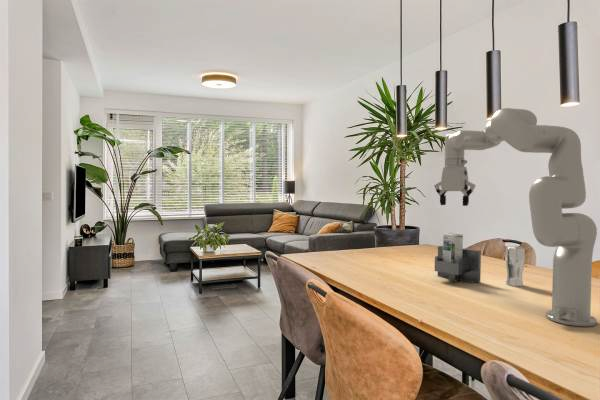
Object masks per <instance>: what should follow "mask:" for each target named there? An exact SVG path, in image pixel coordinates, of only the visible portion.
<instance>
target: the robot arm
mask: <svg viewBox="0 0 600 400" xmlns="http://www.w3.org/2000/svg"><path fill="white" fill-rule="evenodd" d="M537 123H538V118H537V116H536V115H535V113H534V112H532V111H531V110H528V109H525V108H523V109H522V108H512V107H511V108H510V107H506V108H500V109H498V110H496V112H494V114H493V115H492V117H491V119H490V120H489V121H488V122H487V123H486V125H485V128H484V130H481V131H480V130H463V129H462V130H458V131H456V132H452V133H448V134H446V135H445V137H444V167H443V168H442V172H441V177H440V178H441V179H440V181H439V182H437V183H436V184H434V185H433V187H434V188H435V189H434V190H435V192H436V193H437V194H438V195H439V203H440V206H446V204H447V195H446V193H448V192H461V194H463V196H462V206H464V207H468V206H469V203H470V199H469V198H470V195H471V194H473V192H474V190H475V188H476V184H475V183H472V182H471V181H469V174H468V168H467V166H465V164H468V160H467V159H466V160H465V151H485V150H488V149H491V148H492V149H493V148H494V147H497V146H499V145H500V144H501V143H502V142H505V143H507V144H508V145H510V146H511V148H513V149H514V150H517V151H519V152H521V153H530V154H531V153H532V154H533V153H534V154H535V153H538V154H539V153H540V154H542V153H543V154H545V153H546V154H551V155H550V156H549V159H548V163H547V164H548V165H547V166H548V167H547V169H548V176H541V177H539V178H537V179H536V180H535V181H534V182H533V183H532V184H531V186H530V189H529V192H528V198H529V199H528V201H529V202H528V203H529V211H530V218H531V226H532V232H533V235H534V237H535V239H536V241H537V243H539V244H541V245H542V246H544V247H549V248H551V247H552V248H553V247H555V251H554V255H553V260H552V286H551V287H552V291H551V292H552V293H551V297H552V298H551V309H549V310H547V311H545V317H546V318H547V319H548V320H550V321H551V322H554V323H555V322H556V323H558V324H563V325H567V326H575V327H593V326H596V325H597V323H598V321H597V318H596V317H594V316H593V315H591V304H592V302H591V300H592V274H593V273H592V270H593V253H594V248H595V243H596V240H597V234H598V229H597V225H596V223H595V220H593V219H592V218H591V217H590V216H588V215H586V214H583V213H581V212H580V213H579V212H563V209H564V210H565V209H575V208H578V207H580V206H582V205H583V204H584V203H585V202H586V198H587V189H586V184H585V183H586V182H585V176H584V168H583V162H582V161H583V160H582V143H581V139H580V137H579V135H578V134H577V132H576V131H574V130H573V129H571V128H568V127H565V126H560V125H559V126H558V125H547V124H545V125H543V124H537ZM440 188H441V189H440Z"/></svg>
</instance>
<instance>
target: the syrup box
mask: <svg viewBox="0 0 600 400" xmlns="http://www.w3.org/2000/svg"><path fill="white" fill-rule="evenodd" d="M442 235H443V237H442V246H443V261H445V262H452V263H456V259H460V258H462V250H463V249H464V248H463V244H464V243H463V242H464V238H463V237H464V235H463V234H460V233H456V232H454V233H453V232H446V233H443V234H442Z"/></svg>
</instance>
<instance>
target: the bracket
mask: <svg viewBox="0 0 600 400" xmlns="http://www.w3.org/2000/svg"><path fill="white" fill-rule="evenodd" d="M481 254H482V251H481V250H478V249H469V248H463V250H462V258H460V259H456V263H452V262H445V261H443V245H438V246H437V255H436V256H434V272H437V277H443V278H449V281H451V282H457V281H464V282H465V281H466V282H470V283H475V284H478V283H481V270H482V266H481V265H482V255H481Z"/></svg>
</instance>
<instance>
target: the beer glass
mask: <svg viewBox="0 0 600 400" xmlns="http://www.w3.org/2000/svg"><path fill="white" fill-rule="evenodd" d="M525 254H526V251H525V247H523V246H516V245H515V246H512V245H511V246H509V245H507V246H506V247H505V255H504V256H505V257H504V258H505V259H504V261H505V269H506V274H507V275H506V281H505V284H506V285H507V286H510V287H515V288H516V287H517V288H518V287H523V286H524V282H523V272H524V269H525V264H526V255H525Z"/></svg>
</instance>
